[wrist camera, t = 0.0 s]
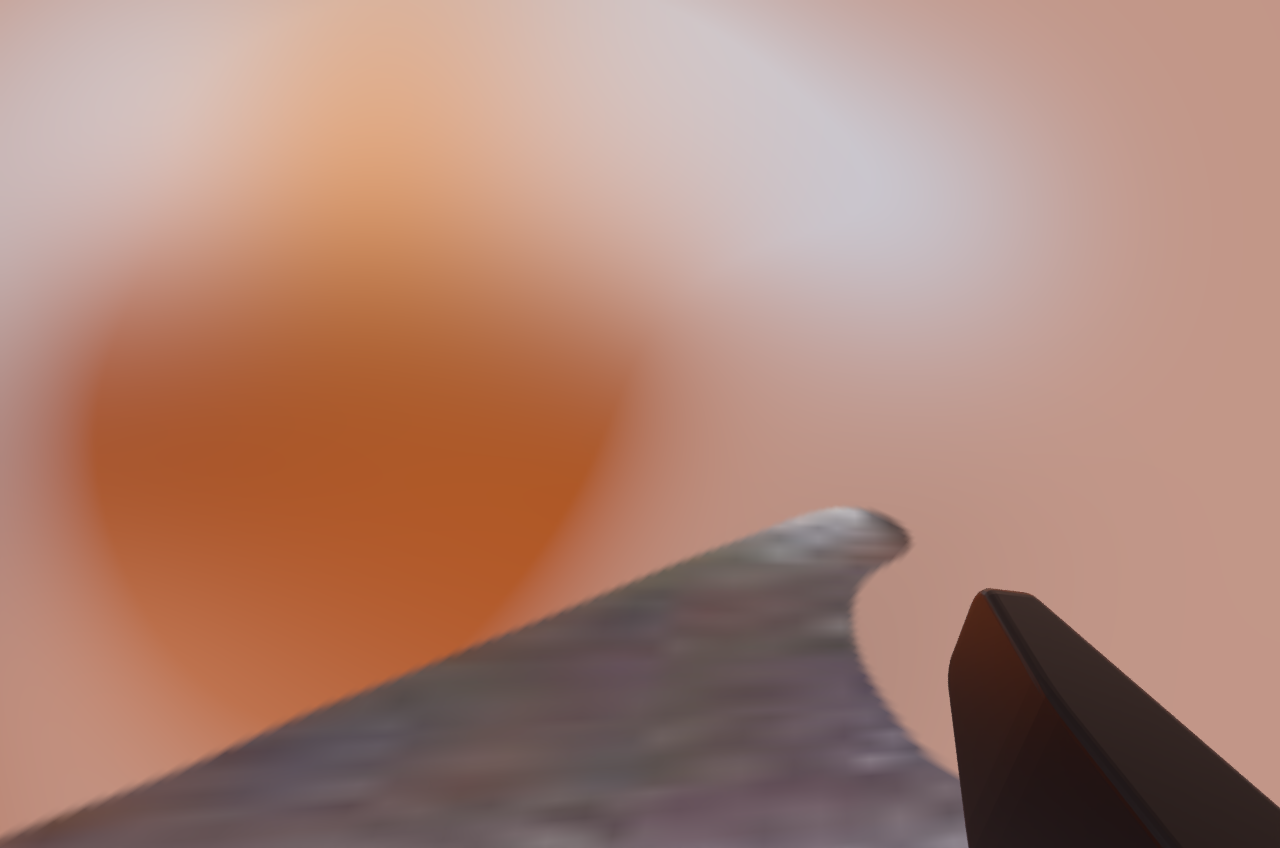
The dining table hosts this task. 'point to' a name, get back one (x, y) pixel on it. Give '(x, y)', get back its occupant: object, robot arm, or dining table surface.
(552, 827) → the dining table surface
